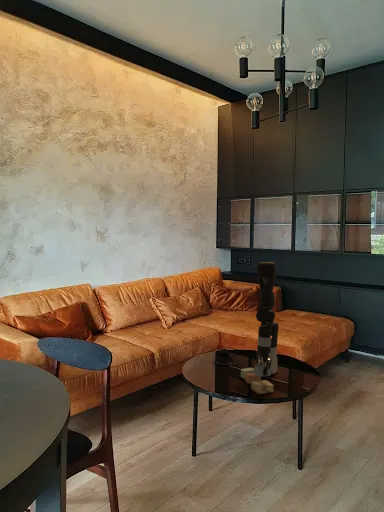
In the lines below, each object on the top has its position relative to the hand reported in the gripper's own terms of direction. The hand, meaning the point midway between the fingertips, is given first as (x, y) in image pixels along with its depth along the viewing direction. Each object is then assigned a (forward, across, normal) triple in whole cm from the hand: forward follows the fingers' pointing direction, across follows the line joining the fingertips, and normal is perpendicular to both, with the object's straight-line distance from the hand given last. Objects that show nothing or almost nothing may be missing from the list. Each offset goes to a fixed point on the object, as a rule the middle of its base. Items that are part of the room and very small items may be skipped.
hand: (262, 373), depth 223 cm
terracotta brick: (+10, +13, -2) cm, 16 cm away
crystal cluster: (+10, +50, 0) cm, 51 cm away
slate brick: (+1, 0, 0) cm, 1 cm away
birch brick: (+10, 0, 0) cm, 10 cm away
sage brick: (+10, +21, -2) cm, 23 cm away
